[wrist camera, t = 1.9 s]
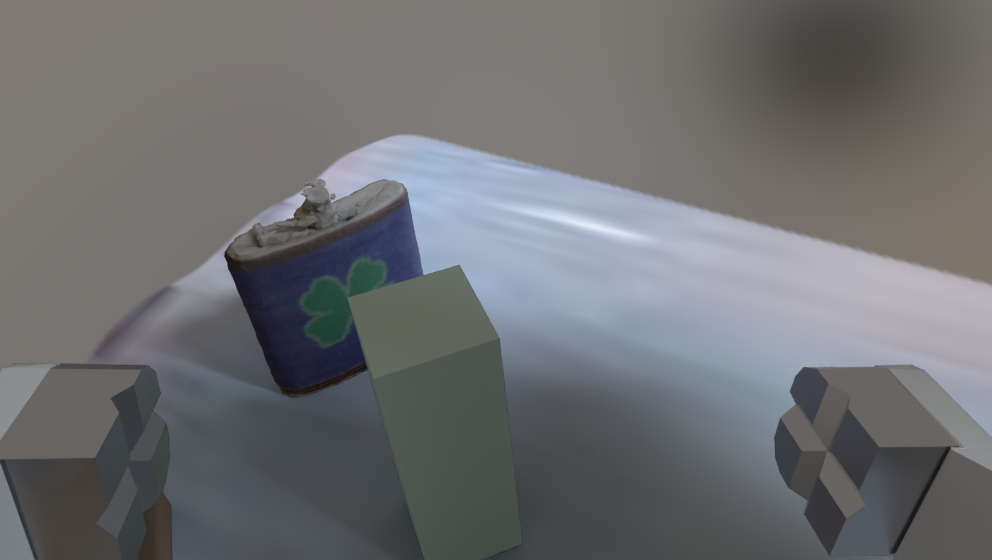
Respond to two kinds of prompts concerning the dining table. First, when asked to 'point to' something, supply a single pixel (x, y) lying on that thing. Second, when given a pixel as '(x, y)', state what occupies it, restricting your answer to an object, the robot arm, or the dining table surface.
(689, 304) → the dining table surface
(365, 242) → the flask
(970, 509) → the robot arm
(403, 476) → the sage column
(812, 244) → the dining table surface
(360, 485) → the dining table surface
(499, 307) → the dining table surface
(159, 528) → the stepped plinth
